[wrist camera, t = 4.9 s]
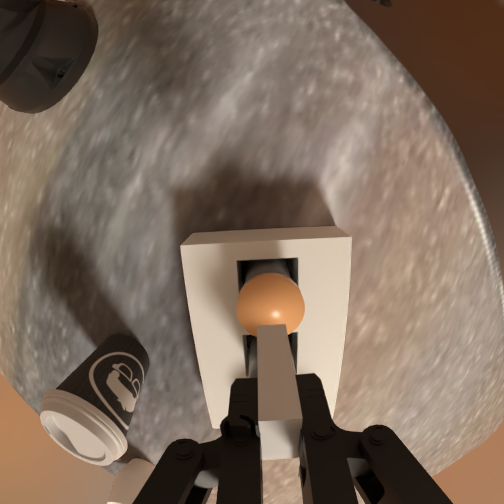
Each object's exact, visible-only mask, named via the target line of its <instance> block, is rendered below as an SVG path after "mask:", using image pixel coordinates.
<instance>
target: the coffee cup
mask: <svg viewBox="0 0 504 504" xmlns="http://www.w3.org/2000/svg"><path fill="white" fill-rule="evenodd" d="M148 368H149V357H148V355H147V353H146V351H145V350H144V348H143V347H142V346H141V345H140V344H139V343H138V342H137V341H135V340H134V339H132V338H130V337H128V336H124V335H112V336H110V337H109V338H107V339H106V340H105V341H104V342H103V343H102V344H101V345H100V346H99V347H98V348H97V349H96V350H95V351H94V352H93V353H92V354H91V355H90V356H89V357H88V358H87V359H86V360H85V361H84V362H83V363H82V364H81V365H80V366H79V367H78V368H77V369H76V370H74V371H73V372H72V373H71V374H70V375H69V376H68V377H67V378H66V379H65V380H64V381H63V382H62V383H61V384H60V385H59V386H58V387H57V388H56V389H53V390H48V391H47V392H45V394H44V396H43V399H42V403H41V414H40V419H41V423H42V425H43V427H44V429H45V430H46V431H47V433H48V434H49V435H50V437H52V439H53V440H54V441H55V442H56V443H57V444H59V445H60V446H61V447H62V448H63V449H65V450H66V451H68V452H69V453H71V454H72V455H74V456H75V457H77V458H79V459H81V460H84V461H86V462H88V463H91V464H96V465H109V464H110V463H112V462H113V460H117V459H118V458H120V457H121V456H122V455H123V454H124V453H125V452H126V450H127V441H126V434H127V431H128V428H129V424H130V421H131V418H132V415H133V412H134V409H135V406H136V403H137V400H138V397H139V394H140V391H141V388H142V385H143V382H144V379H145V376H146V374H147V371H148Z"/></svg>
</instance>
